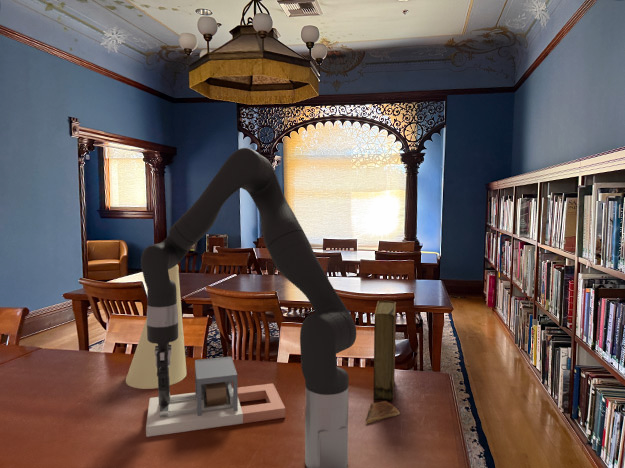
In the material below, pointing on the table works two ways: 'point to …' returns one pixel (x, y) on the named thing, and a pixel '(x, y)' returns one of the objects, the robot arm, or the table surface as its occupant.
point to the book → (384, 350)
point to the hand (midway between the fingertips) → (164, 383)
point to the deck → (215, 412)
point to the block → (215, 393)
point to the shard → (381, 411)
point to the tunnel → (215, 377)
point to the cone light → (144, 357)
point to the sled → (165, 398)
